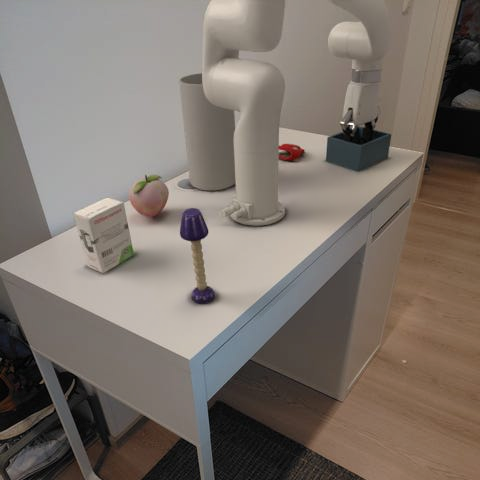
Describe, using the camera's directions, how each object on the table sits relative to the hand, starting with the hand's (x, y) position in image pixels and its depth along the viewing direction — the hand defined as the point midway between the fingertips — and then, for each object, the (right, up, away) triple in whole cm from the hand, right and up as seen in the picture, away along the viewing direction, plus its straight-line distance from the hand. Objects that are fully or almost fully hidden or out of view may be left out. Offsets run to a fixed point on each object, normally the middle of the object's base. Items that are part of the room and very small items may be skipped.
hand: (357, 146), depth 134 cm
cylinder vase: (-40, -12, -6) cm, 42 cm away
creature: (-1, -2, 0) cm, 2 cm away
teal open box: (0, -3, +3) cm, 4 cm away
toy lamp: (-39, -44, -47) cm, 76 cm away
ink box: (-59, -36, -36) cm, 78 cm away
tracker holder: (-20, 0, +8) cm, 21 cm away
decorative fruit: (-53, -24, -21) cm, 62 cm away
